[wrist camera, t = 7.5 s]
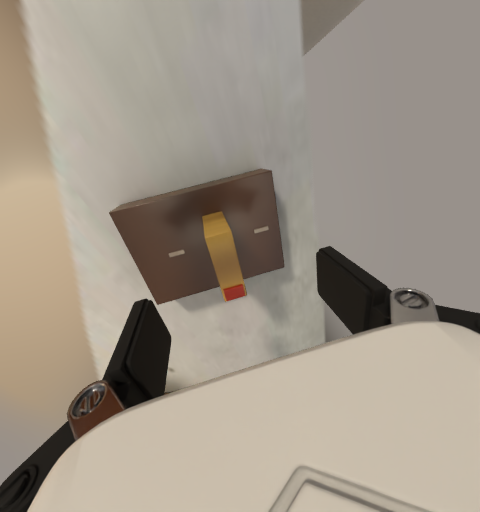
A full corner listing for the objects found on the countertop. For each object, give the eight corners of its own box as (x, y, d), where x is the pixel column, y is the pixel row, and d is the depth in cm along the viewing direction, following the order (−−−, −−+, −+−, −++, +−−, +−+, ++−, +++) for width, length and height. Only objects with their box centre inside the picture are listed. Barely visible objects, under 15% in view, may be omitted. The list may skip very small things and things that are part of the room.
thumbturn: (202, 216, 18) (204, 239, 13) (221, 210, 18) (231, 231, 13) (217, 268, 21) (225, 304, 16) (235, 263, 21) (248, 297, 16)
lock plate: (261, 168, 20) (272, 170, 18) (275, 255, 25) (285, 267, 22) (120, 204, 19) (107, 212, 17) (161, 288, 24) (157, 306, 21)
